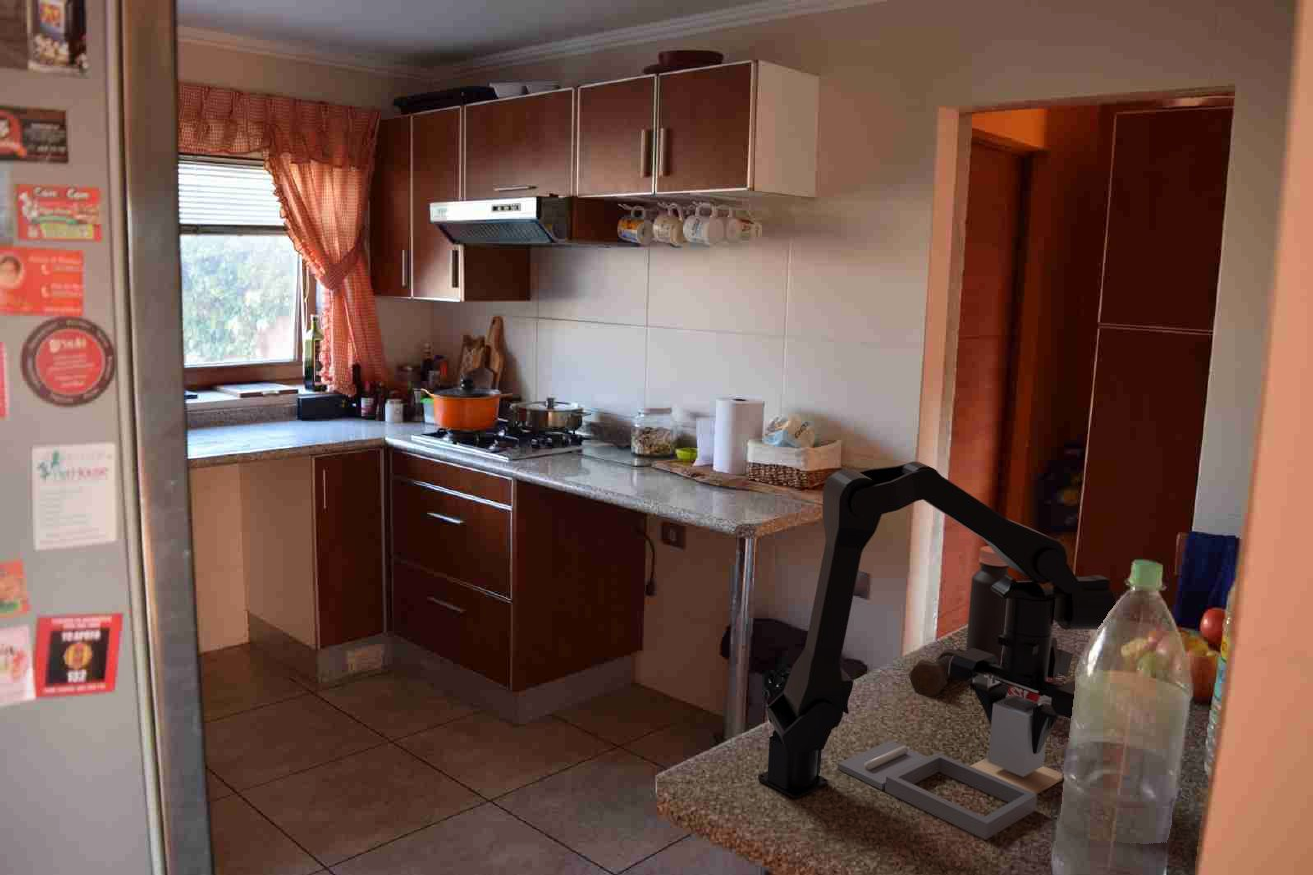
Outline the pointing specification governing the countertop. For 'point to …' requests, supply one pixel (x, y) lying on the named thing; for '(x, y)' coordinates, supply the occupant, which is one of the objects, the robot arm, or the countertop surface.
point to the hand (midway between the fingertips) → (1017, 745)
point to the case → (907, 767)
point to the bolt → (932, 674)
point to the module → (1014, 736)
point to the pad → (1030, 782)
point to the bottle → (987, 605)
